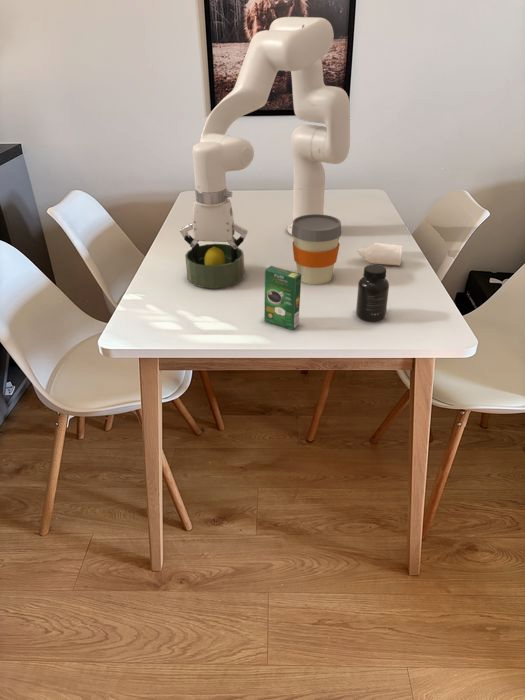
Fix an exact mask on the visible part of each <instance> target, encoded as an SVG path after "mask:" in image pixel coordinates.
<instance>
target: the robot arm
mask: <svg viewBox="0 0 525 700" xmlns="http://www.w3.org/2000/svg"><path fill="white" fill-rule="evenodd" d="M334 35H335V33H334V29H333V26H332V23H331V22H330V21H329V20H328V19H326V18H324V17H318V16H317V17H316V16H315V17H314V16H310V17H309V16H307V17H306V16H283V17H278V18H276V19H274V20H273V21H271V24H270V25H269V29H266V30H260V31H258V32H256V33H255V34H254V35H253V36H252V38H251V40H250V42H249V45H248V47H247V51H246V54H245V57H244V59H243V61H242V65H241V67H240V70H239V73H238V75H237V78H236V81H235V85H234V87H233V89H232V90H231V91H230V92H229V93H228V94H227V95H226V96H224V97H223V98H222V99H221V100H220V101H219V103H217V105H216V106H215V107H214V108H213V109H212V110H211V112H210V113H209V115H208V116H207V118H206V120H205V122H204V126H203V129H202V131H201V134H200V138H199V142H197V143H195V144H194V145H193V146H192V149H191V152H192V153H191V157H192V167H193V168H192V169H193V176H194V178H193V181H194V191H195V199H194V200H193V205H192V222H191V223H188V224H187V225H185V226H183V227H181V228H180V229H179V232H180V233H179V234H180V235H181V236H182V237H183V239H184V240H183V241H185V242H186V243H187V244H188V245H189V247H190V248H191V249H192V254H193V258H195V262H198V261H199V259H200V248H199V246H200V244H199V242H213V243H214V242H215V243H220V242H221V243H228V245H231V246H232V248H231V263H232V262H234V261H235V260H236V259H238V248H239V247H240V245H242V244H243V243H244V240H245V239H246V236H247V235H248V230H247V229H246V228H244V227H242V226H240V225H239V224H236V223H235V219H234V212H233V206H232V202H231V199H230V198H233V191H230V190H228V188H227V180H226V179H227V177H226V174H227V172H236V171H242V170H245V169H247V168H248V167H249V166H250V165H251V163H252V162H253V160H254V158H255V150H254V147H253V145H252V143H251V142H250V141H249V140H247V139H246V138H243V137H237V136H232V135H227V134H226V133H227V132H228V129H229V128H230V127H231V125H232V124H234V122H236V121H237V120H238V119H240V118H241V117H243V116H245V115H248V114H250V113H253V112H255V111H257V110H259V109H261V108H263V107H264V106H265V105H266V104H267V102H268V99H269V97H270V93H271V90H272V88H273V85H274V82H275V80H276V77H277V74H278V72H279V71H283V72H290V74H291V87H292V103H293V112H294V116H295V117H296V118H297V119H298V120H300V121H303V122H308V123H315V124H302V125H299V126H297V127H296V128H295V129H294V130H293V131H292V133H291V136H290V150H291V157H292V165H293V167H292V168H293V185H292V189H293V190H292V223H290V224H289V225H288V226H287V233H289V235H291V236H293V235H292V226H293V221H294V219H295V218H297V217H300V216H304V215H311V214H320V215H324V214H325V213H324V211H325V210H324V209H325V190H326V188H325V187H326V171H325V169H324V165H323V163H326V164H332V165H338V164H339V165H340V164H342V163H344V162H345V161H346V159H347V158H348V155H349V153H350V146H351V102H350V98H349V96H348V93H347V92H346V90H344V89H343V88H341V87H339V86H333V85H332V86H331V85H326V84H325V82H324V71H323V62H322V59H323V58H324V57H325V56H326V55H327V54H328V53H329V52H330V50H331V48H332V46H333V43H334V37H335V36H334ZM317 124H323V125H324V126H323V125H317ZM191 230H192V236H193V237H192V236H191V235H190V234H189V232H190V231H191ZM235 233H237V234H239V235H240V236H239V237H238V238H237V237H235V236H234V235H235Z"/></svg>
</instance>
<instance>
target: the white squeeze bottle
mask: <svg viewBox="0 0 525 700" xmlns="http://www.w3.org/2000/svg"><path fill="white" fill-rule="evenodd" d="M356 252H357V254H358V255H359V256H360V257H362V258H363V259H365V260H366V261H367V262H368V263H370V264H376V265H388V266H399V267H400V266H401V264H402V263H401V262H402V255H403V245H401V244H400V245H399V244H392V243H391V244H390V243H381V242H375V243H373V244H370V245H367V246H366V247H361V248H358V249H357V250H356Z"/></svg>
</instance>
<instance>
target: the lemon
mask: <svg viewBox="0 0 525 700" xmlns="http://www.w3.org/2000/svg"><path fill="white" fill-rule="evenodd" d="M204 262H205V265H210V266H215V265H224V264H226V259H225V255H224V253H223V251H222V250H221V249H219V248H216V247H212V248H210V249H209V250H208V251H207V252H206V254H205V259H204Z"/></svg>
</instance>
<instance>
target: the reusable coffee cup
mask: <svg viewBox="0 0 525 700" xmlns="http://www.w3.org/2000/svg"><path fill="white" fill-rule="evenodd" d="M292 223H293V226H292V235H291V236H292V237H293V241H292V251H293V260H294V262H295V264H296V273H299V274H301V283H304V284H309V285H322V284H326V283H329V282H330V281H331V280H332V278H333V271H334V268H335V267H334V266H335V264H336V263H337V260H338V254H339V250H340V242H339V241H340V237H341V236H342V221H341V220H340V219H339V218H338V217H335V216H332V215H328V214H323V215H320V214H311V215H304V216H300V217H297V218H295V219H294V221H293V220H292Z"/></svg>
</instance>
